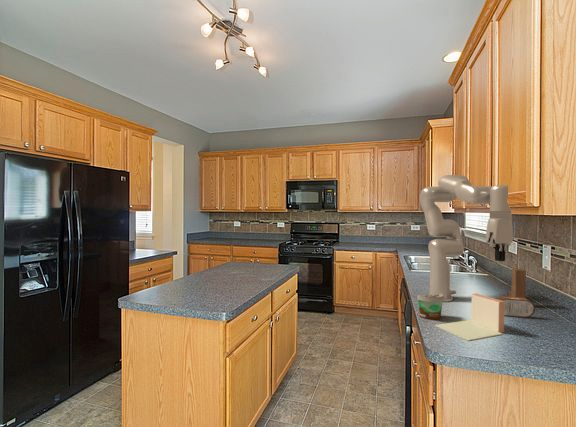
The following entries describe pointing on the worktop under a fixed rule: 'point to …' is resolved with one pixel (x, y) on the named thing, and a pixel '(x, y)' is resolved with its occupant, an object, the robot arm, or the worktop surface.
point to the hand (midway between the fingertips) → (499, 260)
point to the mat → (468, 330)
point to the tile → (488, 312)
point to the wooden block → (518, 283)
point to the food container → (430, 306)
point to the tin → (517, 307)
